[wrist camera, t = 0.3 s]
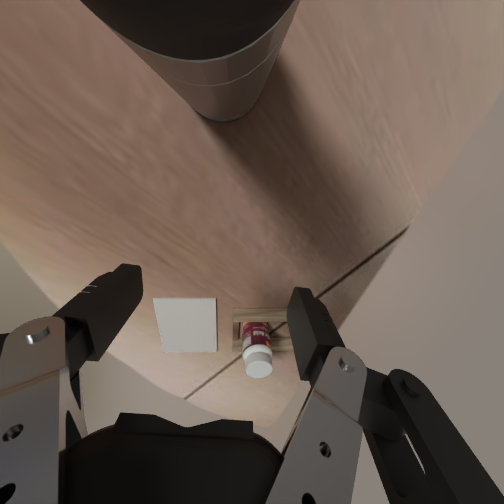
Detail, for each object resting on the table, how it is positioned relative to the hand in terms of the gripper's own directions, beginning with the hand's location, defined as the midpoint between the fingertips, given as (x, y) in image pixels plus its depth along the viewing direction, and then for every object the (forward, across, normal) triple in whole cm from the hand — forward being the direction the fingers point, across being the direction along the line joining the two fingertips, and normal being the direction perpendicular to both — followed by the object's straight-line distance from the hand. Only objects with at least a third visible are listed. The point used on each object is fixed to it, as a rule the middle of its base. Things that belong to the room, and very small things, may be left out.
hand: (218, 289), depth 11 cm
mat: (+18, +6, +23) cm, 29 cm away
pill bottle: (+18, -6, +22) cm, 29 cm away
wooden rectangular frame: (+18, -9, +21) cm, 29 cm away
